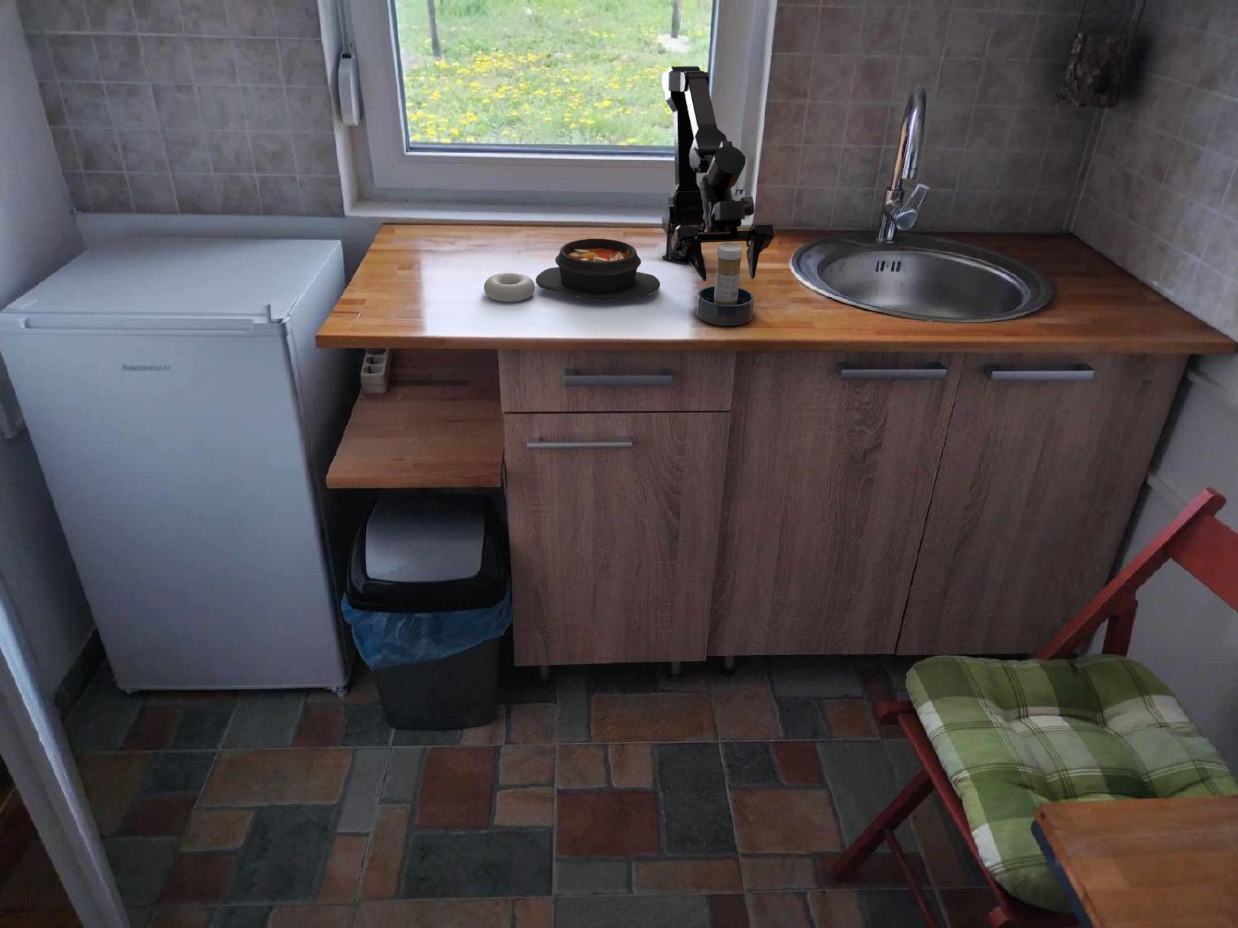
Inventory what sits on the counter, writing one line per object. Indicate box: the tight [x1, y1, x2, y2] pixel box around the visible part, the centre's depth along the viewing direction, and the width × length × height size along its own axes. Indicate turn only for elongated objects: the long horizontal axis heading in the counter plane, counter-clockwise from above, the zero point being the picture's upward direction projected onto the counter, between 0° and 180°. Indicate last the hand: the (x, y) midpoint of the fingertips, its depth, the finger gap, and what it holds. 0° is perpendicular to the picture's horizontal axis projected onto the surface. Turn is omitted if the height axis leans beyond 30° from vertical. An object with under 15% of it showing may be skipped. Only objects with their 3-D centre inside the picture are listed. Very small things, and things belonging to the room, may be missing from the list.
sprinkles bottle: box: [714, 242, 744, 305], centre depth 171 cm, size 5×5×14 cm
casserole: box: [535, 238, 661, 301], centre depth 182 cm, size 25×19×8 cm
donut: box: [483, 272, 536, 303], centre depth 180 cm, size 10×4×10 cm
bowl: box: [695, 285, 755, 327], centre depth 173 cm, size 11×11×4 cm
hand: (729, 279), depth 170 cm, fingers open, 9 cm apart
